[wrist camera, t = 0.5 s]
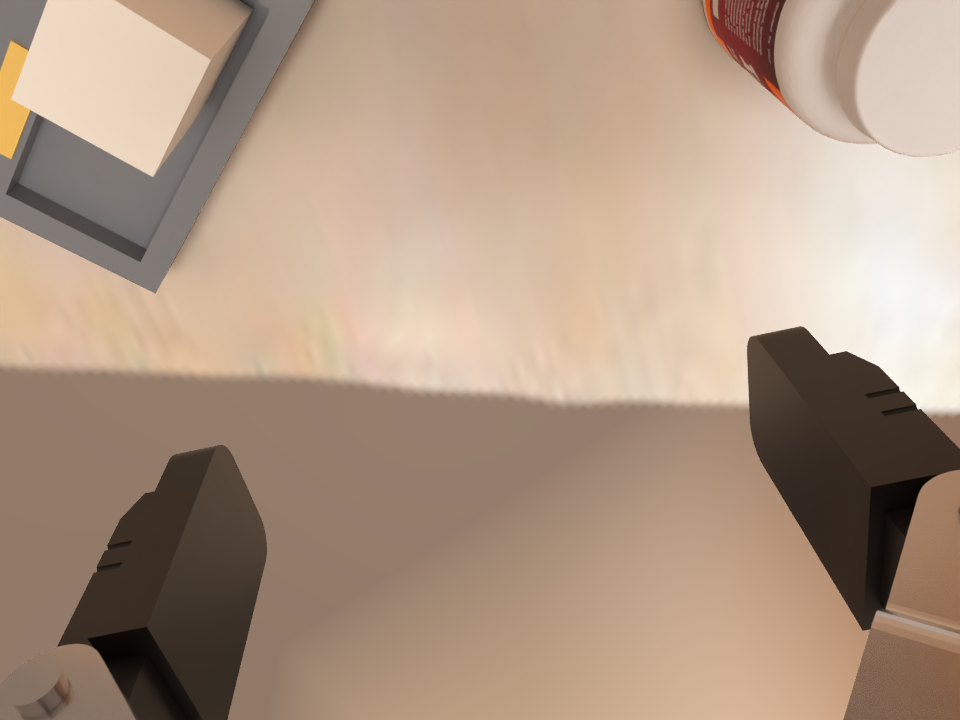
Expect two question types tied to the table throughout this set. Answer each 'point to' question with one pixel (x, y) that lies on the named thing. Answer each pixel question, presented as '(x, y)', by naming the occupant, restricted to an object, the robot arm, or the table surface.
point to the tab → (129, 70)
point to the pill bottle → (854, 65)
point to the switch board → (114, 183)
